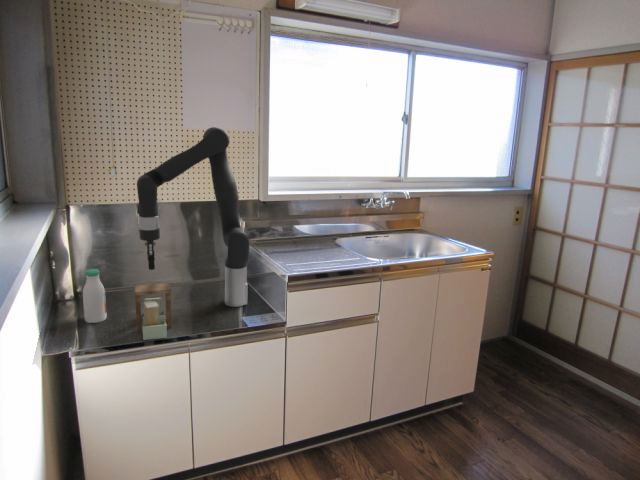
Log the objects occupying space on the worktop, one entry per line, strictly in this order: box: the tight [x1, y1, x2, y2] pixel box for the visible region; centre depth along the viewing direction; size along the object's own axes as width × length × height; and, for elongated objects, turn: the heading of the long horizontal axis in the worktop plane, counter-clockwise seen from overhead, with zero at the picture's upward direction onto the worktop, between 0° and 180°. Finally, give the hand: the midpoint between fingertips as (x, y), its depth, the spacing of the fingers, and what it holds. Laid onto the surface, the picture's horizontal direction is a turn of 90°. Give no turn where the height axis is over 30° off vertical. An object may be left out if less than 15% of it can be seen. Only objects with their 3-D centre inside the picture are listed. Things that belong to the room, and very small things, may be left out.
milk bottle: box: [82, 268, 108, 324], centre depth 175 cm, size 8×8×20 cm
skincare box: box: [142, 300, 159, 326], centre depth 168 cm, size 6×4×12 cm
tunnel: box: [134, 282, 173, 333], centre depth 174 cm, size 12×7×16 cm, turn 111°
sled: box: [141, 297, 168, 341], centre depth 174 cm, size 8×21×7 cm, turn 21°
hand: (151, 269), depth 183 cm, fingers closed
